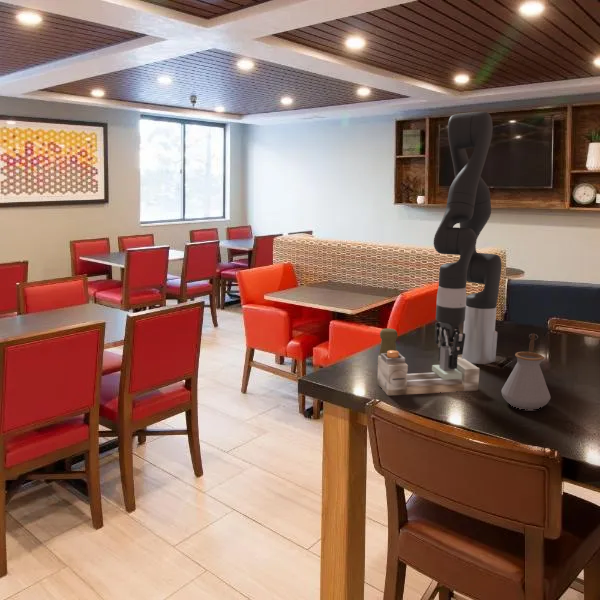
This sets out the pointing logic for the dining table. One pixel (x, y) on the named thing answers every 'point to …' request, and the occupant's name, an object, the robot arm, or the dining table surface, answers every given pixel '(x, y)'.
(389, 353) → the button
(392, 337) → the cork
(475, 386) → the rail
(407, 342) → the dining table surface
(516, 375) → the coffee pot
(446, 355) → the carriage
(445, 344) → the robot arm
